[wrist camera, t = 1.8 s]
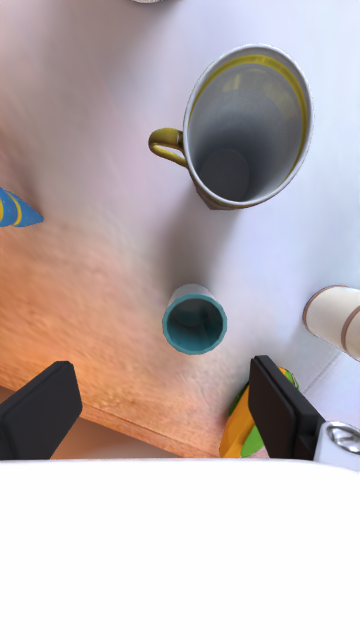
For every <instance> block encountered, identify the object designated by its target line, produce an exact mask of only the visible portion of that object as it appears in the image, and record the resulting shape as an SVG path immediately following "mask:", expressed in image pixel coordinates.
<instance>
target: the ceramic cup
mask: <svg viewBox="0 0 360 640" xmlns="http://www.w3.org/2000/svg"><path fill="white" fill-rule="evenodd" d="M313 128H314V103H313V97H312V93H311V89H310V86H309V83H308V81H307V78H306V76H305V74H304V73H303V71H302V69H301V68H300V66H299V65H298V64H297V63H296V62H295V60H294V59H293V58H291V57H290V56H289V55H288V54H287V53H285V52H284V51H282V50H280V49H278V48H276V47H274V46H270V45H266V44H247V45H242V46H239V47H236V48H234V49H231V50H229V51H227V52H226V53H224V54H223V55H221V56H220V57H218V58H217V59H216V60H215V61H214V62H213V63H212V64H210V66H209V67H208V68H207V69H206V70H205V71H204V73H203V74H202V75H201V77H200V78H199V80H198V82H197V83H196V85H195V87H194V89H193V91H192V93H191V95H190V98H189V101H188V104H187V107H186V111H185V115H184V122H183V132H182V131H180V130H177V129H174V128H162V129H158V130H156V131H154V132H153V133H152V134H151V135H150V137H149V142H148V145H149V148H150V150H151V151H152V152H153V153H154V154H156V155H158V156H160V157H162V158H165V159H168V160H171V161H173V162H175V163H177V164H179V165H181V166H183V167H186V168H187V169H188V170H189V173H190V176H191V178H192V180H193V182H194V184H195V187H196V190H197V193H198V195H199V196H200V197H201V198H202V200H203V201H204V202H205V203H206V205H207V206H208V207H209V208H210V209H211V210H235V209H243V208H249V207H252V206H255V205H258V204H260V203H263V202H265V201H267V200H269V199H270V198H272V197H274V196H275V195H276V194H278V193H279V192H280V191H281V190H282V189H284V188H285V187H286V186H287V185H288V184H289V182H290V181H291V180H292V179H293V178H294V176H295V175H296V173H297V172H298V170H299V169H300V167H301V165H302V163H303V162H304V159H305V157H306V155H307V152H308V149H309V146H310V143H311V139H312V134H313ZM156 145H161V146H166V147H170V148H174V149H177V150H180V151H181V152H182V153H183V155H184V157H185V159H184V158H181V157H179V156H178V155H176V154H174V153H172V152H170V151H167V150H165V149H162V148H160V147H158V146H156Z"/></svg>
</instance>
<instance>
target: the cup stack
mask: <svg viewBox="0 0 360 640" xmlns="http://www.w3.org/2000/svg"><path fill="white" fill-rule="evenodd" d="M303 321H304V324H305V327H306V329H307V330H308V331H309V332H310V333H311V334H313V335H314V336H316V337H319V338H321V339H323V340H324V341H326V342H328V343H329V344H331V345H333V346H335V347H336V348H338V349H340V350H341V351H343V352H345V353H346V354H348V355H349V356H350V357H352V358H353V359H355V360H357V361H359V362H360V289H354V288H350V287H347V286H341V285H335V286H330V287H327V288H324V289H322V290H320V291H319V292H317V293H316V294H315V295H314V296H313V297H312V298H311V299H310V300H309V302H308V303H307V305H306V307H305V310H304V314H303Z"/></svg>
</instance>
